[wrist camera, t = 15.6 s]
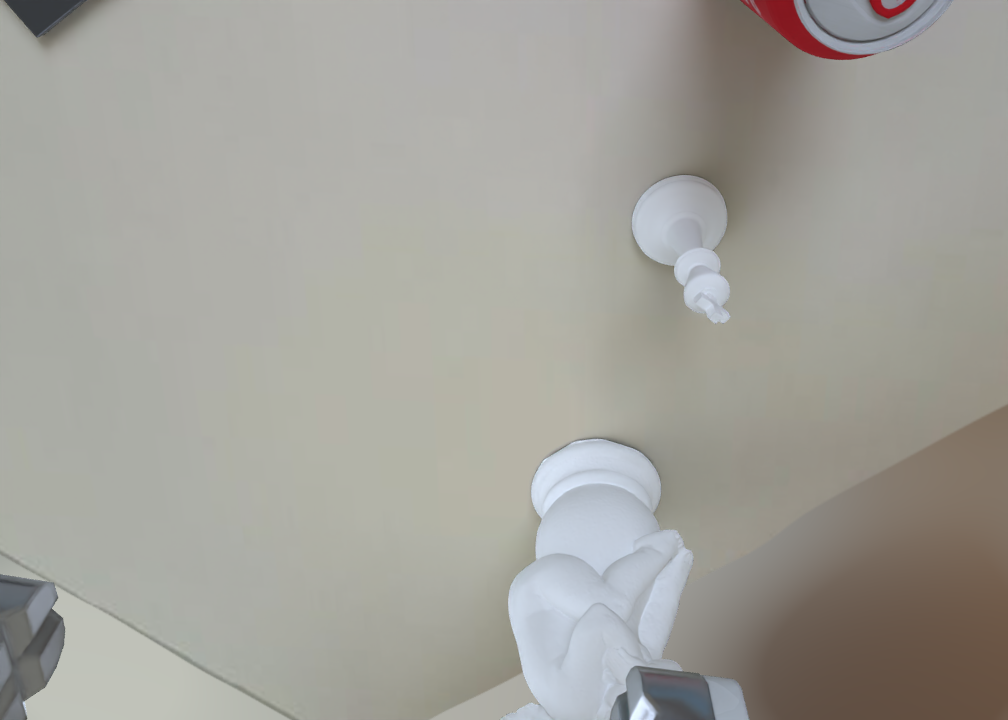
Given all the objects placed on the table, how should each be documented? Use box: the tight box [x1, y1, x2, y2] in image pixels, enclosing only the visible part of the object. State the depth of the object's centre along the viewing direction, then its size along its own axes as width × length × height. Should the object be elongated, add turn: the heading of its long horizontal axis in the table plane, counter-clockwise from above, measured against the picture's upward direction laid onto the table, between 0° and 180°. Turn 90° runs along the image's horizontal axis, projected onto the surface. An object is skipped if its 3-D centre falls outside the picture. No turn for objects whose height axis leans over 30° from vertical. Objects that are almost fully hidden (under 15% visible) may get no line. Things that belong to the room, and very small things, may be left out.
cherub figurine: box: [500, 439, 694, 720], centre depth 43 cm, size 12×12×22 cm
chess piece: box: [632, 175, 730, 324], centre depth 36 cm, size 5×5×10 cm
